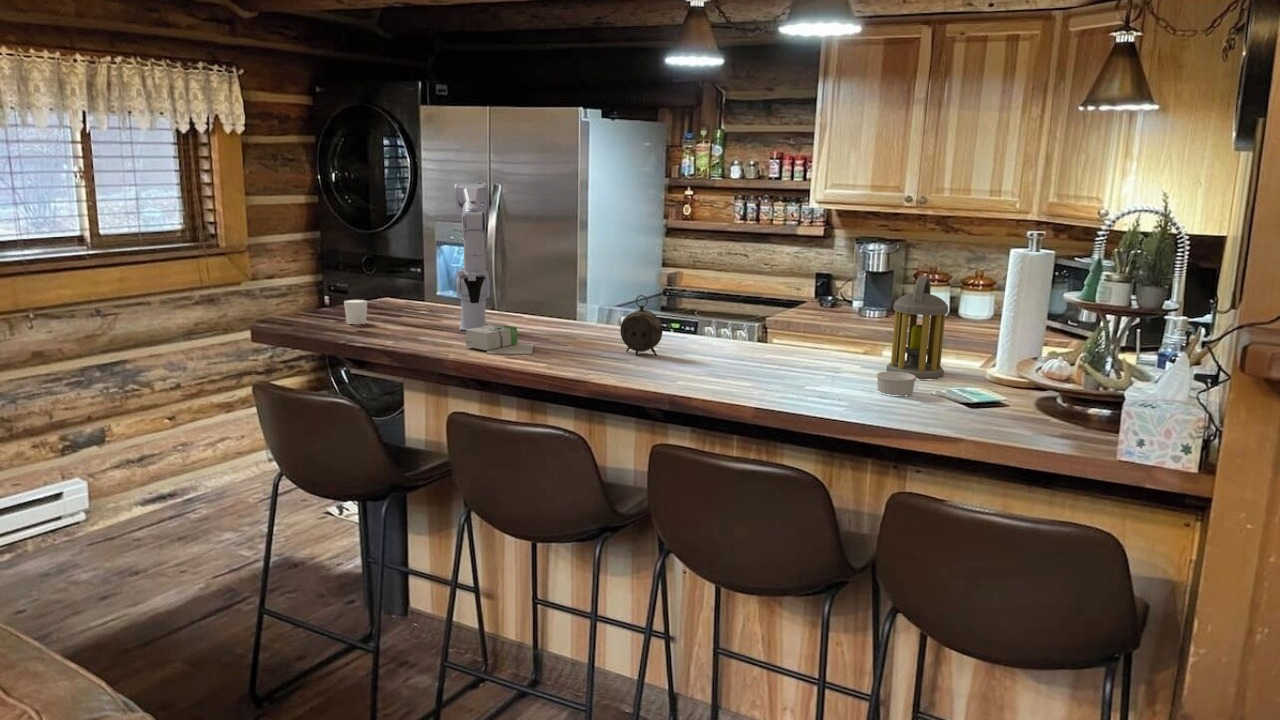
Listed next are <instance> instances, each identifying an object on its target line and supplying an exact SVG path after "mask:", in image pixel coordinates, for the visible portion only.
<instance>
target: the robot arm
mask: <svg viewBox="0 0 1280 720" xmlns="http://www.w3.org/2000/svg"><path fill="white" fill-rule="evenodd" d="M488 189H489V187H488V184H487V183H458V182H456V183H455V184H454V203H455V210H456V214H458V215H460V216H461V231H462V238H463V267H462V268H461V269H459V270H458V271H457V272H456V281H455V282H456V286H455V287H456V297H457V298H458V299H460V315H461V316H460V318H461V319H460V320H461V324H460V326H459V328H458V331H466V330H467V329H472V328H478V327H483V326H488V325H489V323H486V300H487V299H488V298H489V297H490V295H491V294H490V293H491V290H490V289H491V287H490V285H491V284H490V274H489V272H488V271H487V270H486V269H485V233H486V230H487V229H486V228H487V218H486V214H487V210H488V202H489V190H488Z"/></svg>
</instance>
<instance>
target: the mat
mask: <svg viewBox="0 0 1280 720" xmlns="http://www.w3.org/2000/svg"><path fill="white" fill-rule="evenodd" d="M534 347H535V346H534V343H517V344H513V345H509V346H504V347H500V348H495V349H491V350H486V355H533V350H534Z"/></svg>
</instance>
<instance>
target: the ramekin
mask: <svg viewBox="0 0 1280 720" xmlns="http://www.w3.org/2000/svg"><path fill="white" fill-rule="evenodd" d="M876 378H877V381H876V382H877V391H880V392H882V393H885V394H890V395H899V396H900V395H901V396H905V395H910V396H912V395H913V394H914V388H915V382H916V381H917V380H916V376H914V375H912V374H909V373H904V372H892V371H890V372H886V371H881V372H877V373H876ZM911 394H912V395H911Z"/></svg>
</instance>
